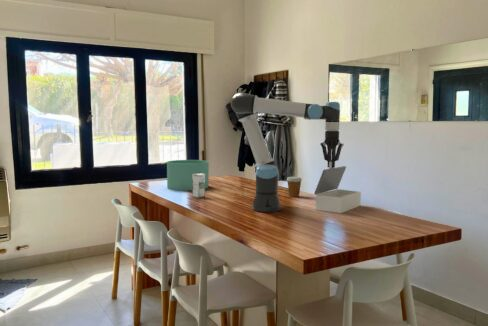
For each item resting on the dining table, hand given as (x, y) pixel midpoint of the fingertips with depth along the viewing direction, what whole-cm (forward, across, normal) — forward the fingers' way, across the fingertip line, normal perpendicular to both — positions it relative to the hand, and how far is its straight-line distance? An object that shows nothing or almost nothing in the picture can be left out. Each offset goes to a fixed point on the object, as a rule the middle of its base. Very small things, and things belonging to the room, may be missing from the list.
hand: (331, 173), depth 226 cm
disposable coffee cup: (+19, +33, -16) cm, 41 cm away
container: (+19, +112, 0) cm, 113 cm away
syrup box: (+19, +78, +24) cm, 84 cm away
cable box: (+19, -5, 0) cm, 19 cm away
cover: (+4, -1, 0) cm, 4 cm away
